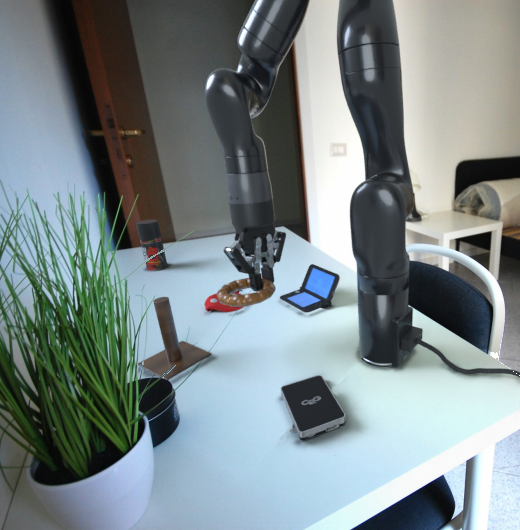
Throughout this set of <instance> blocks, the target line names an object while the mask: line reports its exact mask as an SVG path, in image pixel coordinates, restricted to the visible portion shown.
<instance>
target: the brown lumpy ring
mask: <svg viewBox="0 0 520 530" xmlns="http://www.w3.org/2000/svg"><path fill="white" fill-rule="evenodd" d="M262 284H263V289H262V290H260V291H258V292H256V291H254V292H251V293H248V294H247V293H246V294H242V295H232V293H234V292H236V291H238V290H242V291H243V290H247V289H251V287H250V281H249V277H244V278H240V279H235V280H233V281H230V282H228V283H226V284H223V285H222V286H221V287H220V288H219V289H218V290H217V292H216V293H217V297H218V299H219V302H220V303H222V304H224V305H228V306H231V307H243V308H244V307H249V306H254V305H258V304H262V303H263V302H265V301H267V300H269V299H270V298H272V297H273V295H274V293H275V292H276V284H275V283H274V284H273V283H272V282H271V281H270V280H268V279H264V278H262Z"/></svg>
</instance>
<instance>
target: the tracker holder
mask: <svg viewBox="0 0 520 530" xmlns="http://www.w3.org/2000/svg"><path fill="white" fill-rule="evenodd" d="M240 292H243V290H238V291H236V292H234V293H232V295H243V294H242V293H240ZM203 305H204V308H205V309H204V310H206V312H213V311H215V310H216V311H219V312H223V313H231V312H235V311H239V310H242V309H243V308H244V307H231V306H228V305H224V304H222V303H220V302H219V299H218V297H217V292H216V293H213V294H211V295H209V296H207V298H206V299H205V300H204V304H203Z"/></svg>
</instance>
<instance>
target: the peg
mask: <svg viewBox="0 0 520 530" xmlns="http://www.w3.org/2000/svg"><path fill="white" fill-rule="evenodd" d="M153 306H154V310H155V313H156V319H157V323H158V327H159V331H160V334H161V338H162V339H161V340H162V343H163V346H164V349H163V350H160V351H159V352H157V353H155V354H153V355H151V356H150V357H148V358H146V359H144V360H142V361H140V362H138V363H137V364H138V365H137V366H138V367H140V368H142V362H143V361H144V365H143V368H142V369H144V370H145V371H147V372H150V373H152V374H153V375H155V376H157V377H159V378H161V377H162V375H163V374H164V373H166V372H167V371H168V370H170V369H171V368H172V367H173V366H174V365H176V366H175V367H174V368H173V369H172V370H171V371H170V372H169V373H168V374H166V375H165V376H164V379H168V380H169V379H172V378H173V377H175V376H176V375H179V374H180V373H182V372H184V371H185V370H187V369H189V368H190V367H192V366H194V365H196V364H197V363H199V362H201V361H202V360H205V359H206V358H208V357H209V356H211V355H212V352H209V351H207V350H206V349H202V348H201V347H198V346H195V345H194V344H191V343H189V342H187V341H184V340H179V337H178V333H177V328H176V324H175V320H174V315H173V311H172V306H171V301H170V297H168V296H161V297H160V296H159V297H157V298H155V299H153ZM164 379H163V380H164Z"/></svg>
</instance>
